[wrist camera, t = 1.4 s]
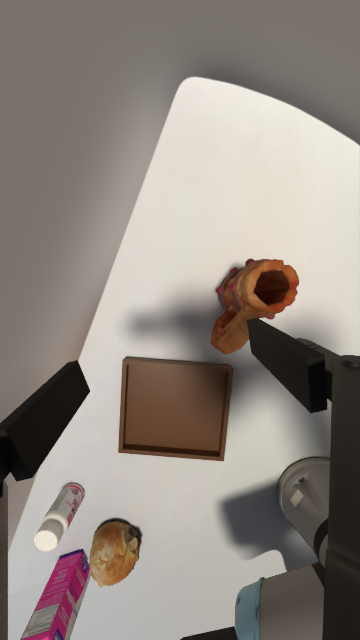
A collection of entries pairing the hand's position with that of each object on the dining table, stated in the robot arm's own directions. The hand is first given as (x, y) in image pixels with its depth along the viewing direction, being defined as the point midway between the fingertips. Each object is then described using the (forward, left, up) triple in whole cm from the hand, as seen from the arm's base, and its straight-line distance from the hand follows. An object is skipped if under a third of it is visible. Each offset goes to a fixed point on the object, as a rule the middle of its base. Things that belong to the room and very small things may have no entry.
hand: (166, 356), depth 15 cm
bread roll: (+9, +48, -23) cm, 54 cm away
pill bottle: (+19, +38, -23) cm, 48 cm away
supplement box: (+18, +55, -23) cm, 62 cm away
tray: (-1, +17, -23) cm, 28 cm away
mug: (-10, -4, -23) cm, 25 cm away
